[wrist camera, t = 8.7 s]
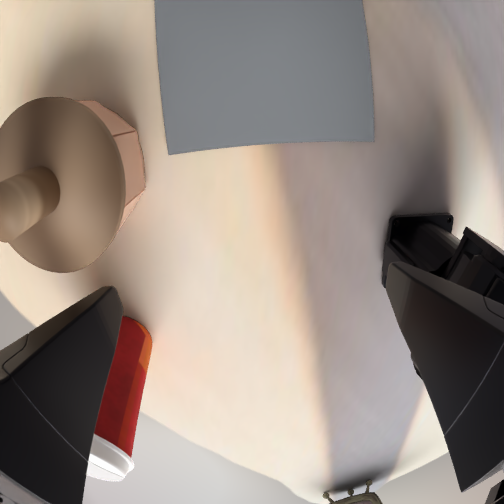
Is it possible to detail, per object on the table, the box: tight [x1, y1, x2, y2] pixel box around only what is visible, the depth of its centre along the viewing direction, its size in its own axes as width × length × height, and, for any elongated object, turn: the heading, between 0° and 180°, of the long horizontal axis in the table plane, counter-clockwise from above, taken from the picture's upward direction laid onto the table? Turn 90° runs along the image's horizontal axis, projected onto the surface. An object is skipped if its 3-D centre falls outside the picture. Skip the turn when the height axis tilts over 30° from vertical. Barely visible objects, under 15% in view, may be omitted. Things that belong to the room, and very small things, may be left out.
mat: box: [155, 0, 374, 155], centre depth 16 cm, size 14×14×1 cm
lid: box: [0, 97, 126, 273], centre depth 12 cm, size 11×11×5 cm
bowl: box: [77, 101, 146, 232], centre depth 17 cm, size 10×10×5 cm
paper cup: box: [86, 316, 152, 481], centre depth 20 cm, size 8×8×14 cm
